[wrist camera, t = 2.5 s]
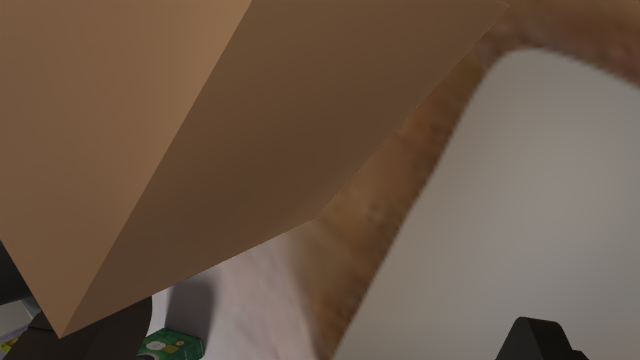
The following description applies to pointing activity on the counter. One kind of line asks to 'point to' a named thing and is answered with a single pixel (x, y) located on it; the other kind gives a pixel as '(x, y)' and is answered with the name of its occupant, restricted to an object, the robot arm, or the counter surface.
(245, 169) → the bar
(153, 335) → the coffee box
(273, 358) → the counter surface
